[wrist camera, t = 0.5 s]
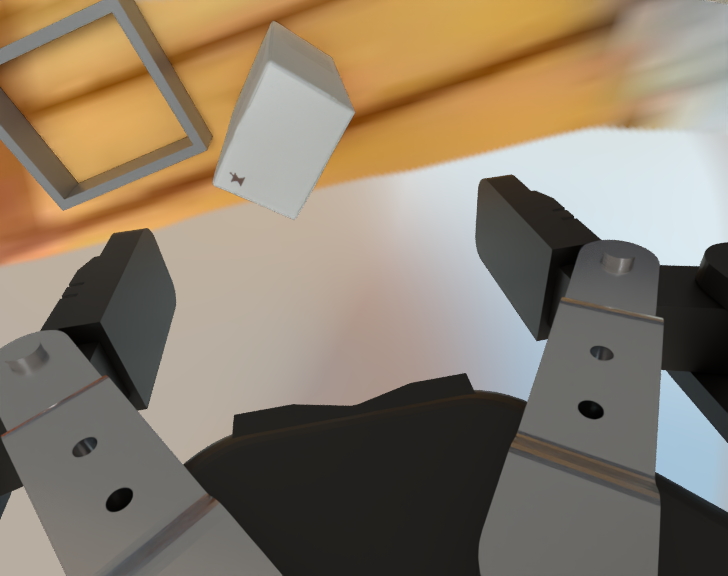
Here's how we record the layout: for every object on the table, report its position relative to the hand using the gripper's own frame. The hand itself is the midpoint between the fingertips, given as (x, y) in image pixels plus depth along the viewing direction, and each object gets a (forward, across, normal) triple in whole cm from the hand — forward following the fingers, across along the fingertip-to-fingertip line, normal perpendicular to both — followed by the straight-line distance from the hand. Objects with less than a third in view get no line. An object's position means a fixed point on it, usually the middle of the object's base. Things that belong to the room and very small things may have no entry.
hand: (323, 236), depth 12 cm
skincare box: (+22, +1, +1) cm, 22 cm away
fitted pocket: (+22, +12, +1) cm, 25 cm away
